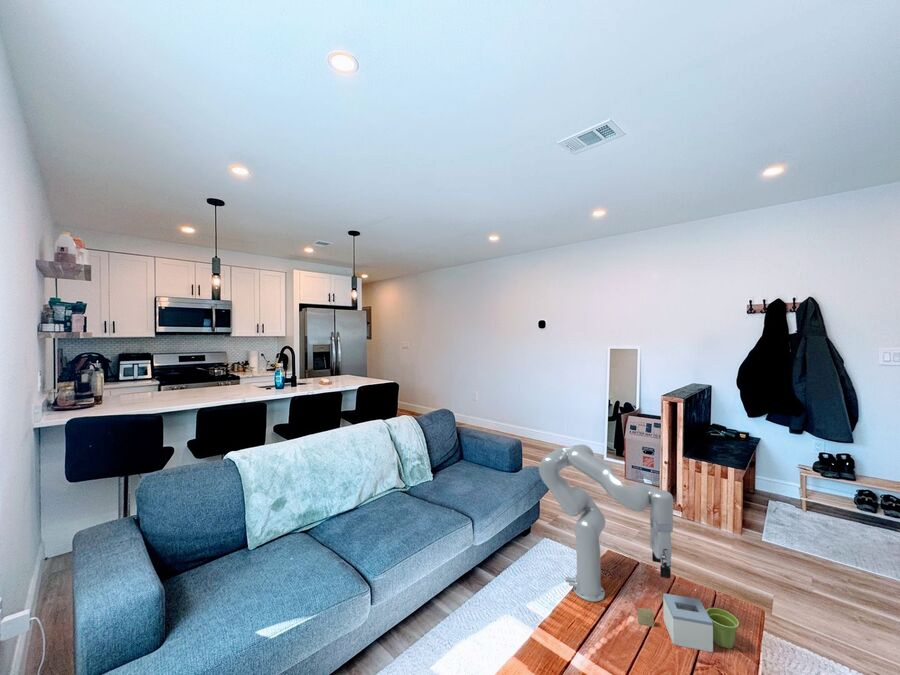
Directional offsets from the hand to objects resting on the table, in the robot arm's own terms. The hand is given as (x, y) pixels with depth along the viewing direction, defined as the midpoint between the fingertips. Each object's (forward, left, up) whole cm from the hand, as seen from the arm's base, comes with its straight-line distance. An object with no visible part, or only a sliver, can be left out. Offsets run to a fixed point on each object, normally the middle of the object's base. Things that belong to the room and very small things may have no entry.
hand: (661, 569), depth 140 cm
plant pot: (+18, -5, -20) cm, 27 cm away
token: (-6, -3, -20) cm, 21 cm away
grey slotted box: (+7, -5, -19) cm, 21 cm away
